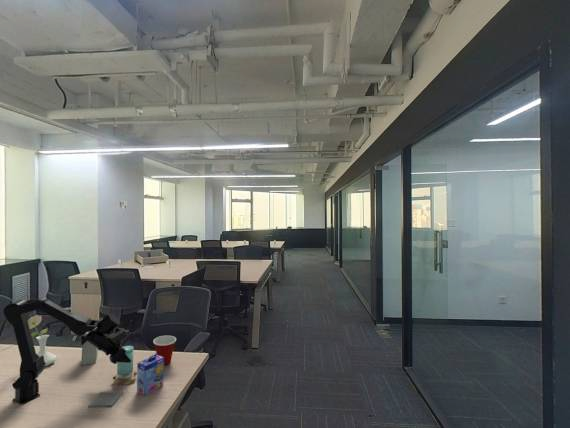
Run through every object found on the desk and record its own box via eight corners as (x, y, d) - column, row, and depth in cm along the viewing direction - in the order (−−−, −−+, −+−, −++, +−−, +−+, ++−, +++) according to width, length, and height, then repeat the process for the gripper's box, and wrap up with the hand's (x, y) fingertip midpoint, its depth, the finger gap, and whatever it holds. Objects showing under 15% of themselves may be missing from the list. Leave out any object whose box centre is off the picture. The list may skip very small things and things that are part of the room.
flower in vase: (53, 357, 161) (53, 309, 162) (59, 363, 154) (60, 313, 154) (20, 366, 151) (21, 315, 152) (26, 374, 144) (26, 320, 144)
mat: (88, 407, 118) (88, 405, 118) (100, 394, 127) (100, 392, 127) (112, 406, 119) (112, 404, 119) (123, 393, 128) (123, 391, 128)
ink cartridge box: (144, 396, 126) (145, 360, 126) (136, 392, 128) (136, 357, 129) (164, 384, 135) (164, 351, 135) (156, 381, 137) (156, 348, 137)
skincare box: (83, 359, 159) (83, 328, 159) (99, 356, 162) (99, 326, 162) (80, 366, 151) (80, 333, 152) (97, 363, 154) (97, 331, 155)
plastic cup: (163, 370, 147) (163, 345, 147) (148, 365, 152) (148, 341, 152) (181, 361, 156) (181, 337, 156) (166, 356, 162) (166, 333, 162)
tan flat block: (112, 386, 133) (112, 379, 133) (114, 377, 140) (114, 371, 140) (136, 382, 137) (136, 375, 137) (137, 373, 144) (137, 367, 144)
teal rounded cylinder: (127, 375, 135) (127, 352, 135) (113, 374, 136) (113, 351, 136) (136, 367, 142) (136, 346, 142) (122, 367, 143) (122, 345, 143)
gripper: (120, 330, 129) (148, 349, 136) (111, 319, 144) (136, 337, 151) (98, 354, 124) (128, 373, 131) (91, 340, 139) (118, 358, 146)
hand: (128, 358), depth 140 cm, fingers closed on teal rounded cylinder, 6 cm apart
